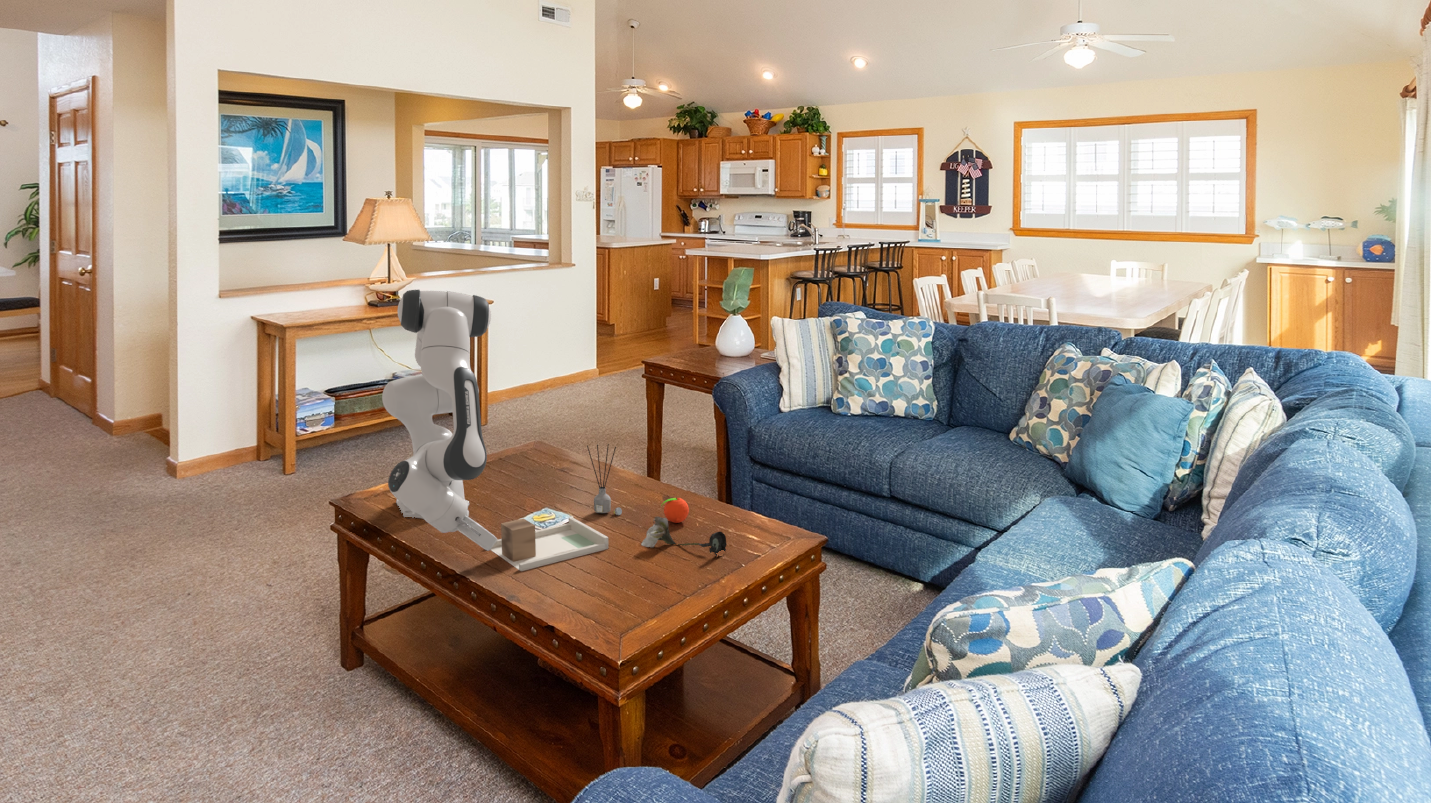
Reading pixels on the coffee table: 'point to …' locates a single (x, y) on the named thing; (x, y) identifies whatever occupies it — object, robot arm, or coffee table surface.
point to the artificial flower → (662, 533)
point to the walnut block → (518, 539)
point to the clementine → (676, 510)
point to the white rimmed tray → (559, 544)
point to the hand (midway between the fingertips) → (489, 543)
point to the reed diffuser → (603, 492)
